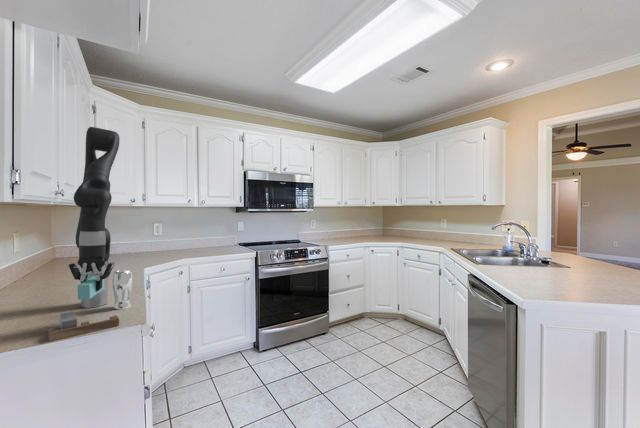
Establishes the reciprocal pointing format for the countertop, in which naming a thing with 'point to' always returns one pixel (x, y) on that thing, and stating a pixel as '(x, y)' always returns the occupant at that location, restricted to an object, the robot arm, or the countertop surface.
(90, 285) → the teal plug
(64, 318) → the charcoal plug
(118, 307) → the beer glass
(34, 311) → the countertop surface
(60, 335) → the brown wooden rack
